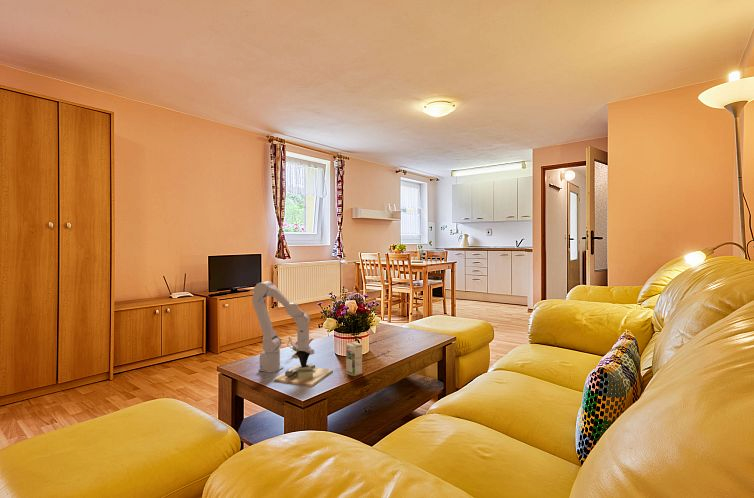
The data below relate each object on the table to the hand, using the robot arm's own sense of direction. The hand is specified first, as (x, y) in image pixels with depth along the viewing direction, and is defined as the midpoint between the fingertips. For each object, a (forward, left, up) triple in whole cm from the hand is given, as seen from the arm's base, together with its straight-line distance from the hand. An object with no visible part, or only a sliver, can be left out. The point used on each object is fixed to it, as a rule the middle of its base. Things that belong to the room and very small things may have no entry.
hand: (303, 365), depth 184 cm
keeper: (+7, -10, -1) cm, 13 cm away
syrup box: (+26, +4, -2) cm, 26 cm away
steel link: (+3, -7, 0) cm, 8 cm away
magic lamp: (-16, +24, -2) cm, 29 cm away
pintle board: (+5, -7, -2) cm, 9 cm away
